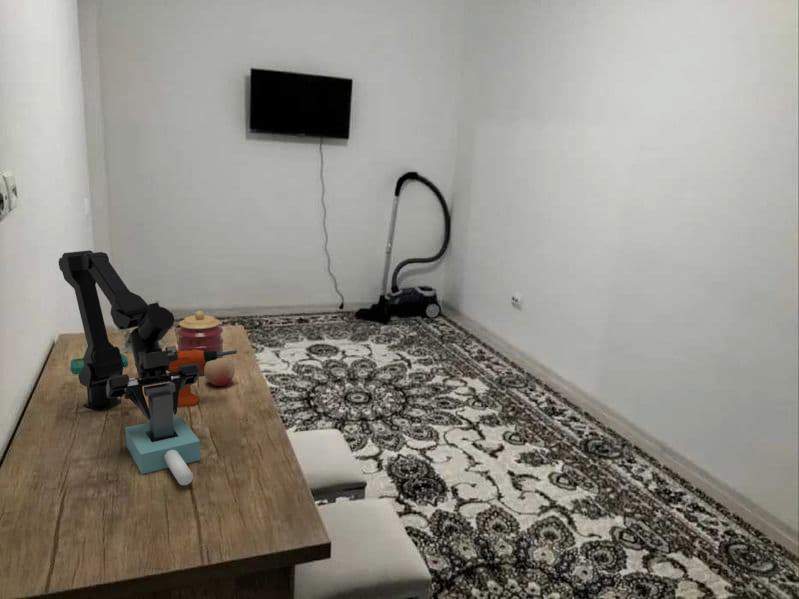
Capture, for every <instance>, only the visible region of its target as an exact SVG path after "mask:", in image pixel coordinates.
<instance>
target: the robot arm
mask: <svg viewBox="0 0 799 599" xmlns="http://www.w3.org/2000/svg"><path fill="white" fill-rule="evenodd" d="M58 268H59V270H60V272H61V273H62V276H63V279H64V281H66V282H67V284H69V286H71V287H72V289H73V291H74V294H75V298H76V301H77V302H76V303H77V306H78V310H79V314H80V319H81V323H82V327H83V331H84V335H85V340H86V344H87V347H86V350H85V353H84V355H83V357H82V358H83V360H84V367H83V368H82V370H81V372H80V373H79V374H77V376H78V380H79V384H80V385H82V386H84V387H85V388H86V391H87V392H86V393H87V402H85V403H83V404H82V406H83V407H85V408H89V409H92V410H98V411H106V410H108V409H110V408H112V407H114V406H116V405H118V404H120V403H122V399H120V398H121V397H123V398H124V399H125V400H129V401H131V402H132V403H133V404H134V405H135V406H136V407H137V409H139V410H140V411H141V413H142V414H143V415H144V417H145V418H146V419H147V420H148V421H149V420H150V412H149V406H148V402H147V401H146V398H145V397H146V396H145V394H144V387H147V386H153V385H159V384H164V383H170V382H173V383H174V384H175V392H171V393H172V402H173V416H174V415H177V413H178V407H177V406H178V397H179V391H180V390H181V389H183V387H184V386H185V385H190V386H192V385H194V384H196V383H197V381H198V380H199V376H201V375H200V370H199V367H198V366H197V365H196V364H195V363H194V364H187V365H181V366H179V368H178V371H177V372H172V373H170V372H168V371H167V370H168V369H169V366H168V365H170V362H171V361H176V360H178V354H177V350H178V349H177V347H176V345H171V346H167V347H165V350H163V349H162V348H160V345H159V340H161V339H162V338H163V337H164V336H165V334H166V335H167V333H168V332H169V330H170V329H171V328H172V327H173V325H174V324H175V316H174V314H173V313H172V312H171V311H170V310H169V309H168V308H166V307H163V306H160V303H159V304H158V303H155V302H153V303H148V302H146V301H145V300H144V299H143V298H142V296H140V295H139V294H136V293H134V292H131V291H130V289H129V288H128V286H126V284H125V283H124V281H123V280H122V278H121V277H120V274H118V273H117V271H116V269H115V268H114V266H113V265H112V264H111V262H110V259H109V256H108V254H107V253H106V252H103V251H99V252H98V251H97V252H94V251H93V250H89V249H88V250H81V251H79V250H78V251H71V252H68V251H67V252H63V253H62V254H61V257H59V259H58ZM97 286H98V287H99V288H100V290H101V292H102V293H103V294H104V296H105V297H106V299H107V301H108V302H109V304H110V306H111V308H110V313H109V314H110V317H111V318H112V322H113V323H114V326H116V327H117V328H118V329H119V330H123V331H124V330H125V331H126V330H127V329H130V328H134V327H137V328H135V329H134V330H133V331H132V332H131V333H130V335H129V338H128V343H129V344H130V343H131V346H132V350H133V354H132V355H133V359H134V364H135V368H136V370H137V377H131V378H130V377H129V374H127V373H126V374H123V372H124V368H125V367H124V363H123V360H122V359H121V356H120V353H121V350H120V348H119V347H118V346H114V345H113V344H112V342H110V340H109V336H108V332H107V328H106V323H105V320H104V315H103V311H102V307H101V302H100V298H99V295H98V294H99V293H98V290H97ZM123 367H124V368H123ZM191 384H192V385H191Z"/></svg>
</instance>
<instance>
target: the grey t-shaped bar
mask: <svg viewBox="0 0 799 599" xmlns="http://www.w3.org/2000/svg"><path fill="white" fill-rule="evenodd" d="M171 392H175V384H174V383H173V382H165V383H159V384H153V385H147V386H143V394H144V397H146V398H147V401H148V402H147V406H148V409H149V412H150V420H148V421H149V422H148V423H149V426H150V440H151V442H155V441H160V440H165V439H169V438H174V427H173V418H174V413H173V402H172V393H171Z"/></svg>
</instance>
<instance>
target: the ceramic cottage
mask: <svg viewBox="0 0 799 599" xmlns="http://www.w3.org/2000/svg"><path fill="white" fill-rule="evenodd" d="M154 303H158V304H159V305H160V299H155V300H154ZM135 328H137V327H134V328H130V329H125V334H124V335H123V338H124V340H123V342H122V346H121V350H120V351H122V352H124V351H125V353H129V354H132V353H133V350H132V346H131V343H130V344H129V343H128V338H129V335H130V333H131V332H132V331H133V330H134V329H135ZM168 342H169V341H168V336H167V333H166V334H165V336H164V337H163V338H162V339H161V340H159V345H160V348H161V347H162V348H164V347H165V346H164V345H166V344H167V343H168ZM168 344H169V343H168ZM168 344H167V345H168ZM167 345H166V346H167ZM163 346H164V347H163ZM162 348H161V349H162Z"/></svg>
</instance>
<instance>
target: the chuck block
mask: <svg viewBox="0 0 799 599" xmlns="http://www.w3.org/2000/svg"><path fill="white" fill-rule="evenodd" d="M173 427H174V438H169V439H165V440H160V441H155V442H151V440H150V426H149V422H146V423H141V424H135V425H134V424H133V425H130V426H125V428H124V430H125V443H126V444H125V445H126V446H125V447H127V450H128V451H130V452H129V454H130V456H131V457H132V459H133V461H134V463H135V464H137V465H136V466H138V467H137V468H138V471H139V472H140V474H141V475H145V473H146V474H150V473H153V471H154V472H158V471H161V470H166V469H169V470H170V472H171V473H172V474H173V475H172V476H174V478H175V479H176V481H177V482H178V484H179V485H180V486H187V485H189V484H190V483H191V482H193V479H194V473H193V472H192V470H191V469H190V467H189V466H188V465H187V464H191V463H194V462H198V461H201V440H200V439H199V438H198V437H197V435H196V434H195V432H193V430H192V429H191V427H190V426H189V425H188V423H186V421H185V420H184V418H183V417H182V416H181V415H179V416H175V417H174V416H173Z"/></svg>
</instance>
